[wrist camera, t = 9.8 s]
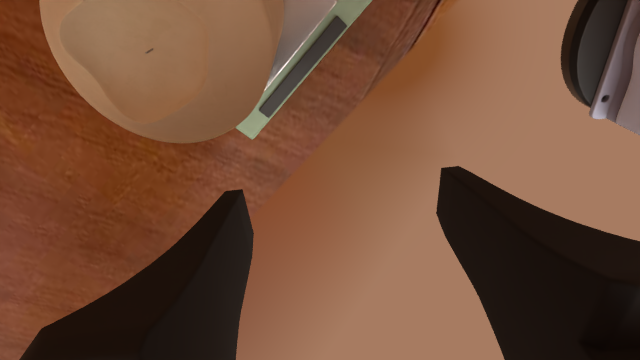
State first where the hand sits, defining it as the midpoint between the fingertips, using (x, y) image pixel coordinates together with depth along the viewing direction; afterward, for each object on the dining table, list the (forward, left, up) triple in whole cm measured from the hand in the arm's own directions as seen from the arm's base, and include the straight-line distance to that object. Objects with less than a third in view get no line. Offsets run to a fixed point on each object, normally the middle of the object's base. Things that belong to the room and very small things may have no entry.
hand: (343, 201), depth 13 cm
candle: (+6, +4, -8) cm, 11 cm away
